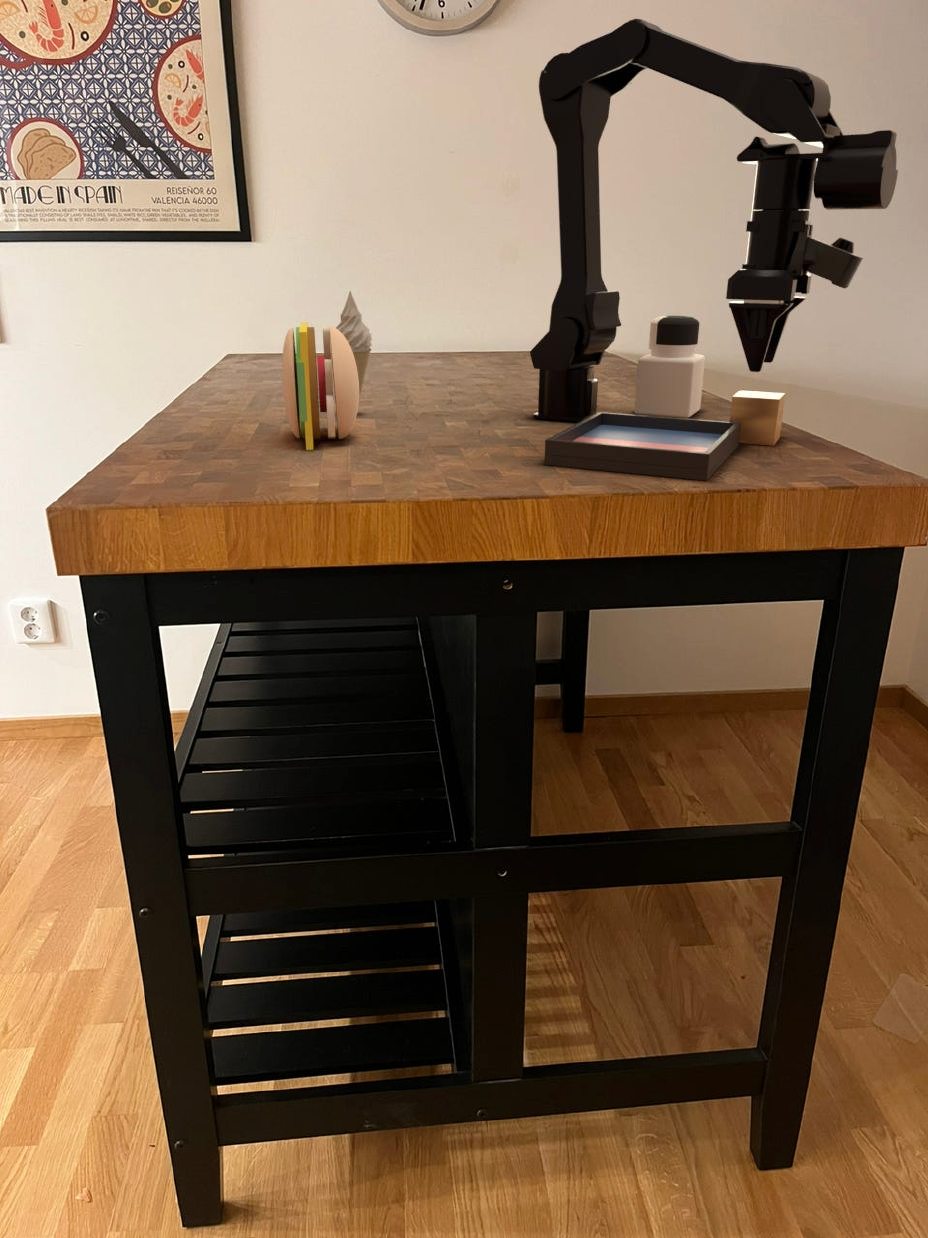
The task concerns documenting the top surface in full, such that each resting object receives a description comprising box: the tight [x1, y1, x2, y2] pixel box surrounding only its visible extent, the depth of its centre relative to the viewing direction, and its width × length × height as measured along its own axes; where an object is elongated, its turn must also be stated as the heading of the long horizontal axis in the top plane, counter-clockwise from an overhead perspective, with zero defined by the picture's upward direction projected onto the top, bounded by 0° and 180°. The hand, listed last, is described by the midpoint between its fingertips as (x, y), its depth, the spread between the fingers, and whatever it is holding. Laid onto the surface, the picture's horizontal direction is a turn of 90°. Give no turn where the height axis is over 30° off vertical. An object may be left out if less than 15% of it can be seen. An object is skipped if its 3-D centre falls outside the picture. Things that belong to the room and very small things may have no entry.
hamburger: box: [281, 322, 360, 451], centre depth 102 cm, size 12×8×12 cm
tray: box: [543, 411, 741, 481], centre depth 96 cm, size 16×18×2 cm
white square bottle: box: [633, 315, 706, 419], centre depth 119 cm, size 7×7×12 cm
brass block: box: [728, 390, 786, 447], centre depth 103 cm, size 5×5×5 cm
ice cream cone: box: [335, 290, 373, 400], centre depth 116 cm, size 5×5×15 cm
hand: (761, 366), depth 101 cm, fingers open, 9 cm apart
